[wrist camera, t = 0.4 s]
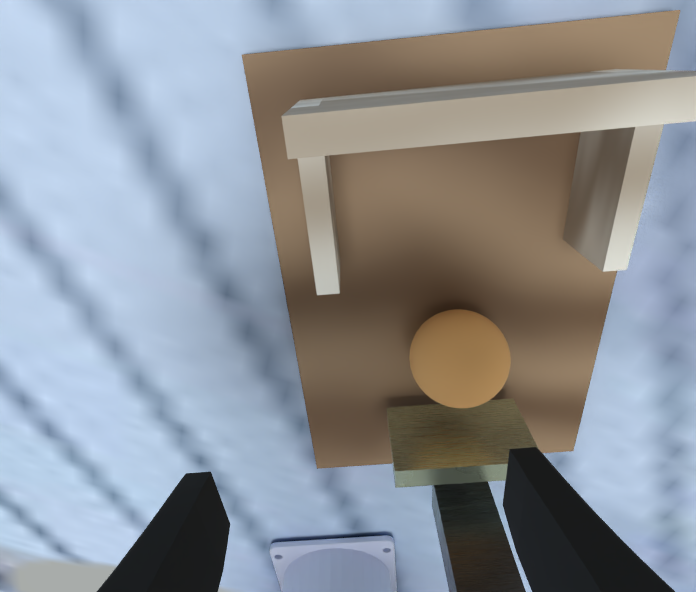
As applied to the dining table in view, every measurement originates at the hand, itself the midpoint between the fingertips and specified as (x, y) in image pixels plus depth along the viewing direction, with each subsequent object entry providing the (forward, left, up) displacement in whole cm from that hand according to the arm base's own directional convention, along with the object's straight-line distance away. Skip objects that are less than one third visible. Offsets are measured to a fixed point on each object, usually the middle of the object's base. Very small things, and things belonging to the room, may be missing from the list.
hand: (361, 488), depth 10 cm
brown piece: (0, -4, -10) cm, 10 cm away
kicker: (-8, -4, -8) cm, 12 cm away
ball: (-2, -4, -7) cm, 8 cm away
